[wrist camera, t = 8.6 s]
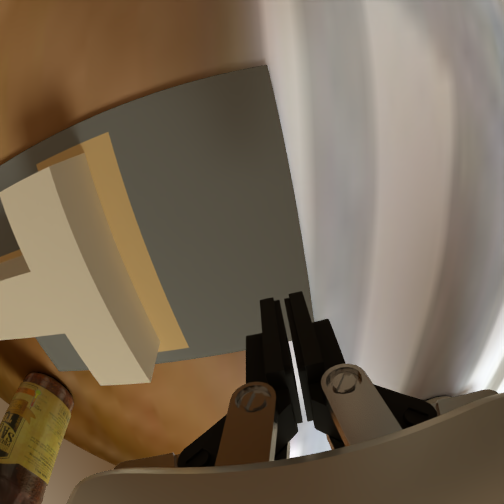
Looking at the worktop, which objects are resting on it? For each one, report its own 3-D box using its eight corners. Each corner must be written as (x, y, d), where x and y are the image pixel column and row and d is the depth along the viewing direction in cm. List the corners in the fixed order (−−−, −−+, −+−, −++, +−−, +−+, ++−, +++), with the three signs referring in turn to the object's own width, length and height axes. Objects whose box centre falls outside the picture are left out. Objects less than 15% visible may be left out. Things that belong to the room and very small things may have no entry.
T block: (84, 152, 15) (49, 166, 12) (160, 341, 21) (150, 382, 18) (-29, 210, 16) (-61, 231, 12) (45, 353, 22) (28, 385, 18)
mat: (266, 65, 14) (267, 64, 14) (314, 332, 22) (315, 334, 22) (-33, 188, 15) (-35, 189, 15) (60, 369, 23) (59, 371, 23)
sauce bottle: (36, 360, 23) (-35, 532, 5) (85, 397, 25) (39, 570, 7) (19, 380, 24) (-39, 523, 6) (62, 413, 26) (21, 557, 9)
